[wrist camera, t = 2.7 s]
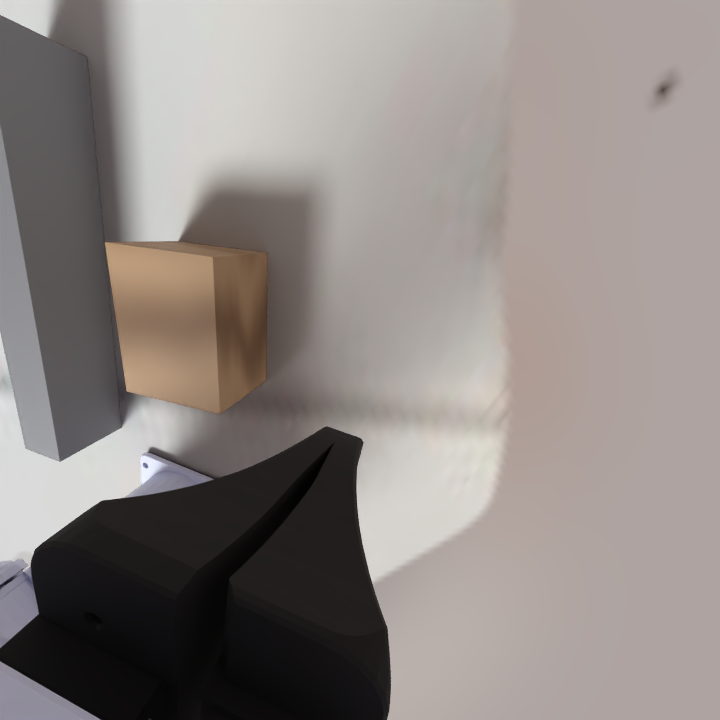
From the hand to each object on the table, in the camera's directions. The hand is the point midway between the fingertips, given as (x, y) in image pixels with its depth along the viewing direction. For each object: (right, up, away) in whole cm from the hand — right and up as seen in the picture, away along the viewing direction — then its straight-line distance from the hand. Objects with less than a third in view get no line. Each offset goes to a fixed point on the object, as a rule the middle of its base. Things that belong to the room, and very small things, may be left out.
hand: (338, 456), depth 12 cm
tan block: (-8, +6, +11) cm, 15 cm away
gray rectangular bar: (-18, +9, +13) cm, 23 cm away
